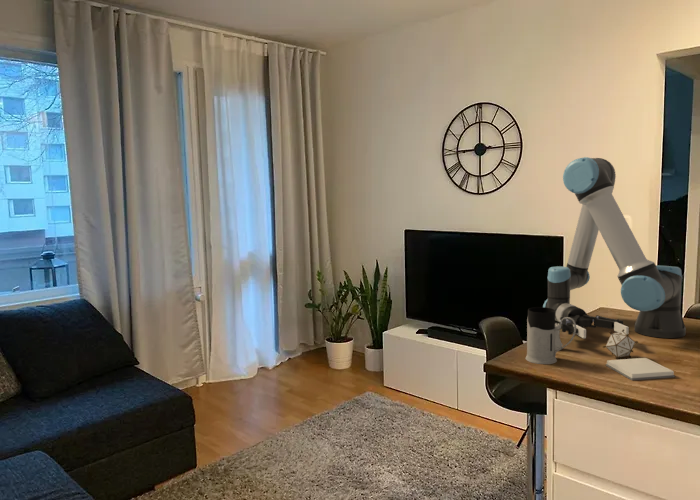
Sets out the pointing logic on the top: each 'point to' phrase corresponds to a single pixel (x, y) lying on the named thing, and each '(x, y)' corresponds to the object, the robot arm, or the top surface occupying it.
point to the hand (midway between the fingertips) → (606, 332)
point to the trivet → (640, 369)
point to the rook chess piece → (557, 338)
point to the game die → (620, 344)
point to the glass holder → (542, 335)
